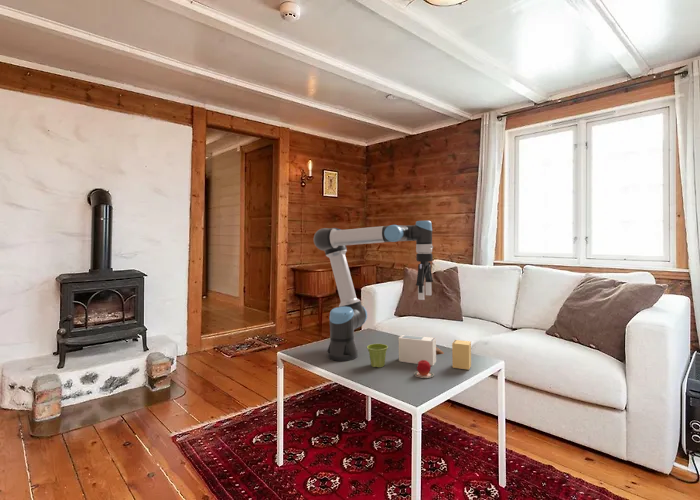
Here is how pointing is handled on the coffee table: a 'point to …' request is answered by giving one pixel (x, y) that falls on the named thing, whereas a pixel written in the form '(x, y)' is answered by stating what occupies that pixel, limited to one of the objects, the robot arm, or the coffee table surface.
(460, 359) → the stub
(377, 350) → the plant pot
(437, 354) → the sunglasses case
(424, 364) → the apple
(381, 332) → the coffee table surface
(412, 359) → the white box
